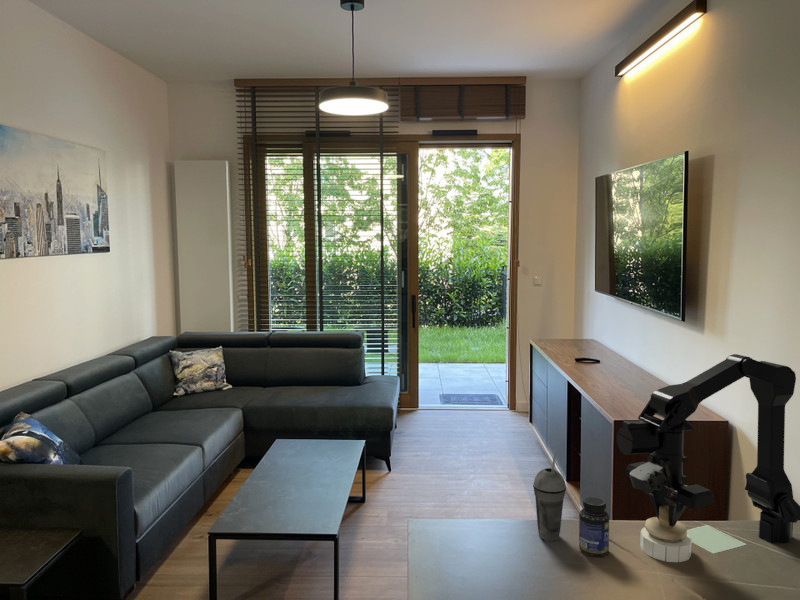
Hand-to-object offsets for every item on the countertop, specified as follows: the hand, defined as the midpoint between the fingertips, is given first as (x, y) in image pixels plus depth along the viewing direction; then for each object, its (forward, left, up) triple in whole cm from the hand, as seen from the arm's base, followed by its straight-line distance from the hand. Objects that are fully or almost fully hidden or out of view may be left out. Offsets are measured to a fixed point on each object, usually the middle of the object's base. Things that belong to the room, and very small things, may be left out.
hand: (666, 522), depth 125 cm
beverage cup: (+18, -16, -7) cm, 25 cm away
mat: (-13, 0, -7) cm, 15 cm away
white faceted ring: (0, 0, -7) cm, 7 cm away
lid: (0, 0, -2) cm, 2 cm away
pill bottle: (+13, -7, -7) cm, 16 cm away
